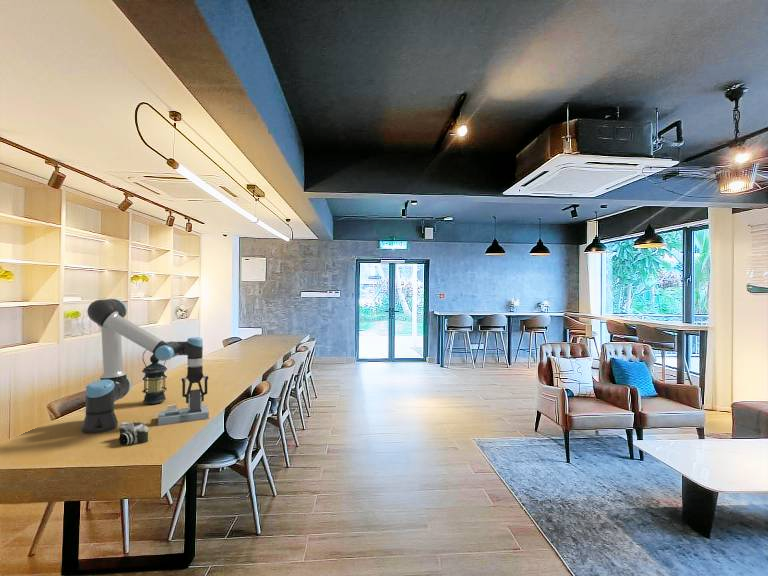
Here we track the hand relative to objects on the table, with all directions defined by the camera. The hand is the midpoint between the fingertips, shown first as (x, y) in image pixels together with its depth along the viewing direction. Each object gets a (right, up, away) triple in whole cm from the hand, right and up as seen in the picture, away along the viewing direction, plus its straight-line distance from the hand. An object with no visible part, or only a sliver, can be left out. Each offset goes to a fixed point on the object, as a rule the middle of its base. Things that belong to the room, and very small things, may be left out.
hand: (194, 408), depth 222 cm
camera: (-13, -6, -36) cm, 39 cm away
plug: (0, 0, 0) cm, 0 cm away
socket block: (-5, -5, -2) cm, 8 cm away
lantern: (-38, -5, +28) cm, 48 cm away
